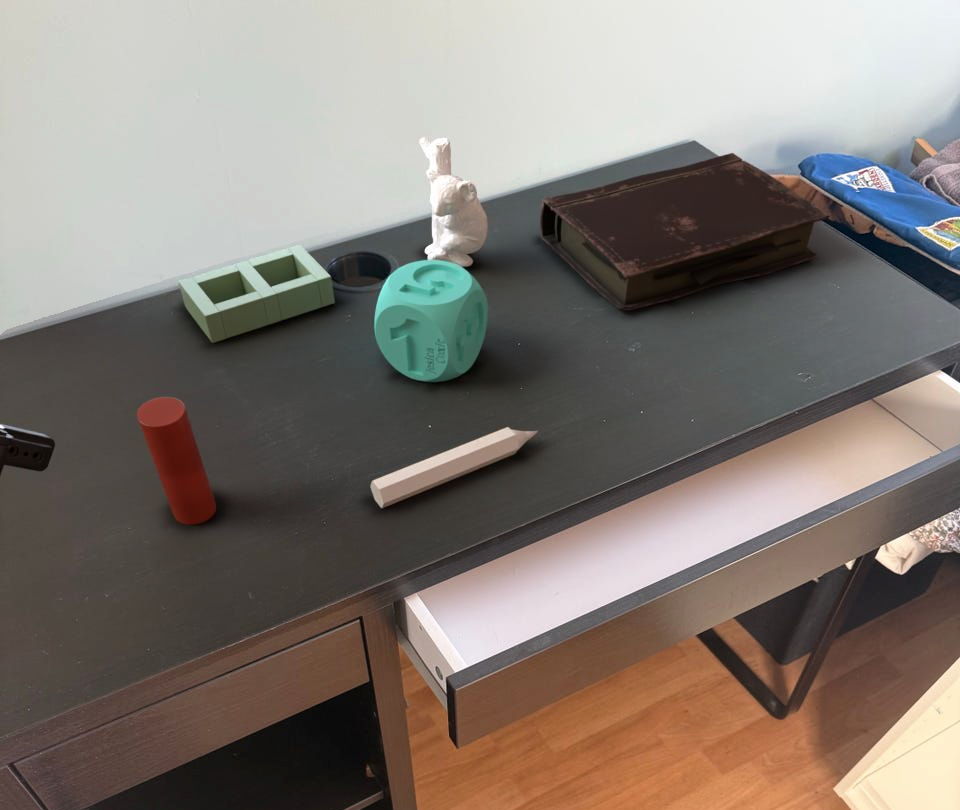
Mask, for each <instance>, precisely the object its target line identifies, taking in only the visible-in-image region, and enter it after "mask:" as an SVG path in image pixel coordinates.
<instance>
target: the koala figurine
mask: <svg viewBox="0 0 960 810" xmlns="http://www.w3.org/2000/svg"><path fill="white" fill-rule="evenodd" d="M418 142H419V144H420V146H421V148H422V151H423V153H424V155H425V157H426V158H427V159H428V160H429V168H428V170H427V171H426V176H427V178H428V181H430V193H431V194H430V196H429V204H430V205H431V207H432V208H431V237H432V243H431V244H429V245H428V246H426V247H425V249H424V254H425V255H427V260H441V261H447V262H451V263H454V264H456V265H459V266H461V267H462V268H466V267H467V268H468V267H471V266H472V264H473V262H474V260H473V259H472V257H471V256H470V255H469V254H474V253H476V252H478V251H479V250H481V248H482V247H483V246H484V244H485V242H486V239H487V236H488V226H489V225H488V217H487V214H486V211H485V210H484V208H483V206H482V204H481V201H480V200H479V197H478V192H477V188H476V186H475V184H474V183H472V181H470V180H463V179H462V177H460V176H458V175H454V174H453V175H452V159H451V158H452V149H451V142H450V141H449V138H446V137H443V138H442V137H440V138H437V139H434V141H432V142H431V141H430V140H429V138H428V137H425V136H423V137H421V138H420V139H419V141H418Z"/></svg>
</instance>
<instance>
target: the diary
mask: <svg viewBox="0 0 960 810" xmlns="http://www.w3.org/2000/svg"><path fill="white" fill-rule="evenodd" d="M828 219H830V215H829V214H827V213H825V211H823V210H822V209H820V208H819V207H817V205H814V204H813V203H812V202H810V201H809V200H808V199H806V198H805V197H804V196H802V195H800V194H799V193H798V192H796V191H795V190H793V189H792V188H790V187H789V186H788V185H786V184H784V183H783V182H781V181H780V180H778V179H777V178H776V177H773V176H772V175H770V174H768V173H767V172H765V171H763V170H762V169H760V168H758V167H756V166H755V165H753V164H751V163H749V162H747V161H746V160H743V159H742V158H741V157H740V156H738V155H737V154H736V153H734V152H731V153H725V154H723V155H720V156H715V157H712V158H709V159H706V160H702V161H699V162H695V163H692V164H688V165H683V166H679V167H674V168H670V169H665V170H659V171H656V172H650V173H645V174H641V175H637V176H633V177H630V178H626V179H622V180H619V181H616V182H612V183H609V184H604V185H601V186H598V187H594V188H590V189H585V190H580V191H574V192H570V193H565V194H560V195H555V196H550V197H545V198H543V199H542V201H541V208H540V219H539V222H540V224H539V225H540V226H539V227H540V238H541V240H542V241H544V242H545V243H546V244H547V245H548V246H550V247H551V249H552V250H553V251H554V252H555V253H556V254H557V255H559V257H561V258H562V259H563V260H564V261H565V263H567V264H568V266H570V268H572V269H573V271H575V272H576V273H577V274H578V275H579V276H580V277H581V278H583V279H584V281H586V282H587V283H588V284H589V285H590V286H591V287H592V288H593V289H594V290H595V291H597V293H598V294H600V296H602V297H603V298H604V299H606V301H608V302H609V303H610V304H612V305H613V306H614V307H615V308H617V309H619V310H625V311H631V310H636V309H639V308H645V307H649V306H652V305H657V304H660V303H664V302H668V301H673V300H675V299H679V298H682V297H685V296H688V295H691V294H693V293H696V292H699V291H702V290H705V289H708V288H711V287H714V286H717V285H720V284H725V283H730V282H736V281H741V280H745V279H746V280H747V279H750V278H751V279H752V278H756V277H757V278H758V277H762V276H766V275H769V274H772V273H775V272H778V271H781V270H784V269H786V268H789V267H792V266H795V265H799V264H801V263H804V262H807V261H810V260H813V259H816V258H817V257H818V254H817V253H815V252H814V251H812V250H811V249H810V248H809V247H808V244H809V241H810V238H811V235H812V231H813V227H814V224H815V223H818V222H821V221H824V220H828Z"/></svg>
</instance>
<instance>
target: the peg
mask: <svg viewBox="0 0 960 810" xmlns="http://www.w3.org/2000/svg"><path fill="white" fill-rule="evenodd" d="M136 418H137V421H138V423H139V426H140V429H141V432H142V434H143V438H144V439H145V440H144V441H146V445H147V448H148V450H149V453H150V456H151V459H152V461H153V464H154V466H155V469H156V472H157V475H158V477H159V481H160V482H161V486H162V488H163V491H164V493H165V496H166V499H167V501H168V504H169V507H170V510H171V512H172V515H173V518H174V519H175V520H176V522H178V523H180V524H183V525H187V526H188V525H190V526H191V525H192V526H193V525H194V526H195V525H199V524H202V523H205V522H207V521H208V520H210V519H211V518H212V517H213V516H214V514H215V513H216V511H217V504H216V500H215V496H214V494H213V491H212V490H213V489H212V487H211V484H210V481H209V479H208V475H207V471H206V469H205V466H204V462H203V459H202V456H201V453H200V450H199V447H198V443H197V440H196V437H195V434H194V431H193V427H192V424H191V422H190V417H189V415H188V412H187V409H186V406H185V404H184V403H183V402H182V401H181V400H180V399H178V398H176V397H172V396H171V397H170V396H163V397H156V398H153V399H150V400H148V401H146V402H144V403H143V404H142V405H141V406H140V407H139V408H138V410H137V412H136Z"/></svg>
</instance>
